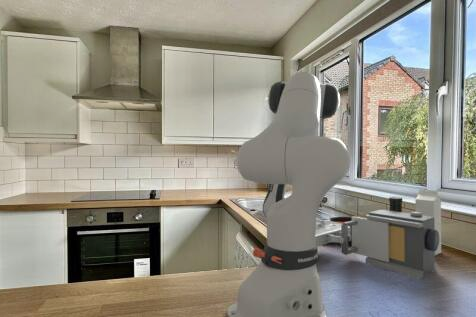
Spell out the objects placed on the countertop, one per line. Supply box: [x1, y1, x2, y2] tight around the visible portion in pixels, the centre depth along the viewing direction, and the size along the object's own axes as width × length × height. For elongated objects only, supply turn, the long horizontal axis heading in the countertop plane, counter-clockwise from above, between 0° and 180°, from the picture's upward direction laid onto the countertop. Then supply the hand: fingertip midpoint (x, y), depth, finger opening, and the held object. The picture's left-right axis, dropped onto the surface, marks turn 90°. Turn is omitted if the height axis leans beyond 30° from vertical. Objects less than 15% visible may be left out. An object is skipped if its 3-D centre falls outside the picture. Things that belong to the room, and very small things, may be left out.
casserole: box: [329, 216, 353, 245], centre depth 121 cm, size 25×19×8 cm
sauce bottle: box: [388, 196, 403, 212], centre depth 103 cm, size 7×6×20 cm
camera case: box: [364, 209, 439, 280], centre depth 91 cm, size 10×18×17 cm, turn 37°
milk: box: [414, 189, 442, 256], centre depth 105 cm, size 6×6×22 cm
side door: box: [340, 216, 389, 262], centre depth 93 cm, size 8×12×12 cm
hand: (347, 239), depth 94 cm, fingers closed on side door, 2 cm apart
